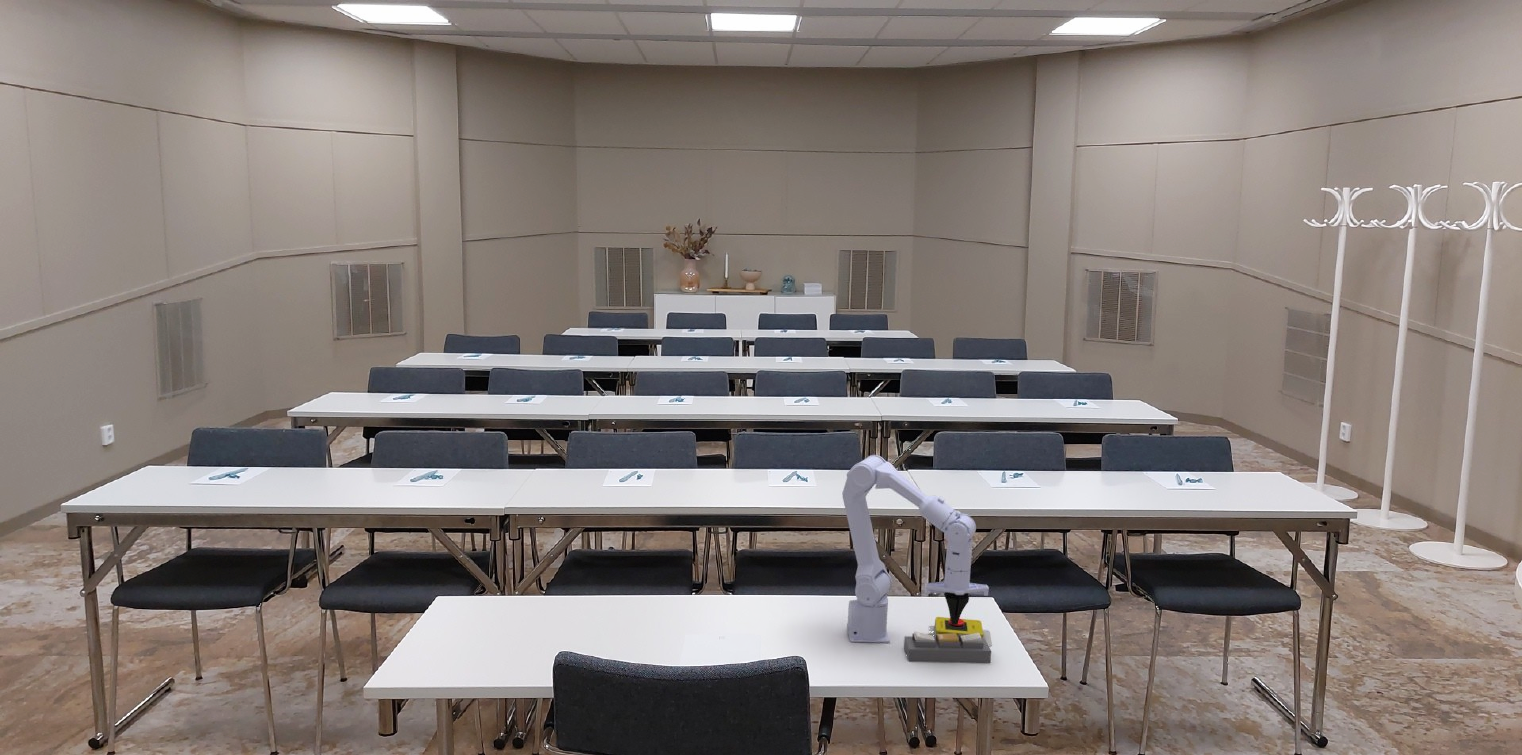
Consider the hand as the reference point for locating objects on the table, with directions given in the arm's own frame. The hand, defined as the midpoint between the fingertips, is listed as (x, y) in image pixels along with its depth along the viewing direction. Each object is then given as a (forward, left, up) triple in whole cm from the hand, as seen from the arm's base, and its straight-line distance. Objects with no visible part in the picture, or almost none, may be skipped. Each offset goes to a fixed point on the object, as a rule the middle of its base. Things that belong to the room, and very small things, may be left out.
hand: (953, 622), depth 249 cm
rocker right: (+4, -1, -4) cm, 6 cm away
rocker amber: (-1, -1, -4) cm, 4 cm away
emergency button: (+4, +10, -9) cm, 14 cm away
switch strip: (-1, -1, -8) cm, 8 cm away
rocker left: (-7, -1, -4) cm, 8 cm away
